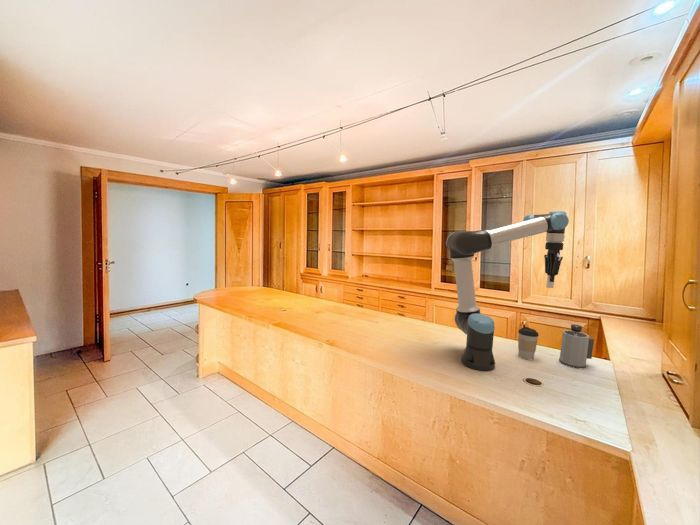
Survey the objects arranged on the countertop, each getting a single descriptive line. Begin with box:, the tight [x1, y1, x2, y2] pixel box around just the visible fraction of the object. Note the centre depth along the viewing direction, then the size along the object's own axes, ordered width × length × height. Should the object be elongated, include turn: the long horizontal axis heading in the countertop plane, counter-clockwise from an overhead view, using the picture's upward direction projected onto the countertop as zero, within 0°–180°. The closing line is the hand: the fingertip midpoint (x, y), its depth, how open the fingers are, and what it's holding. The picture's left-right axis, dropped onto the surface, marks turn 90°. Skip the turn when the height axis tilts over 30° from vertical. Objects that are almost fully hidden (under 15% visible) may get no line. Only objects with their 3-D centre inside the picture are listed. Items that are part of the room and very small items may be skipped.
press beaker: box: [558, 329, 595, 369], centre depth 147 cm, size 13×11×15 cm
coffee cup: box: [517, 326, 539, 360], centre depth 154 cm, size 9×9×15 cm
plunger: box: [570, 323, 583, 336], centre depth 147 cm, size 7×7×15 cm
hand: (549, 287), depth 153 cm, fingers closed
